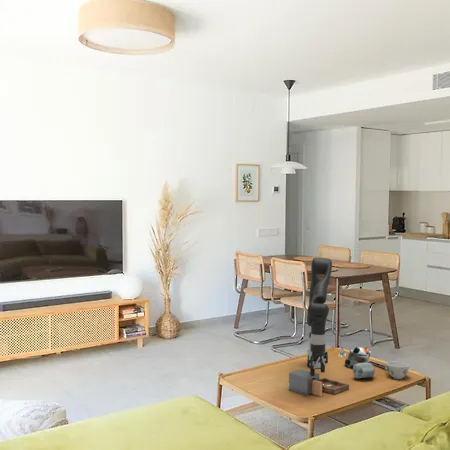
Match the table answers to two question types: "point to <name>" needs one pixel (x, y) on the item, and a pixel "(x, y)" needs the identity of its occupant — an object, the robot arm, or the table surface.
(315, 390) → the orange tan rectangular slab
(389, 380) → the table surface
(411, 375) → the table surface
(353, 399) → the table surface
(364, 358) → the lucky cat figurine
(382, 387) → the table surface
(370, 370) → the grey rounded cylinder
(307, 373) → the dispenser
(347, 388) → the tray
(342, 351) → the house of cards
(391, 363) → the teacup
